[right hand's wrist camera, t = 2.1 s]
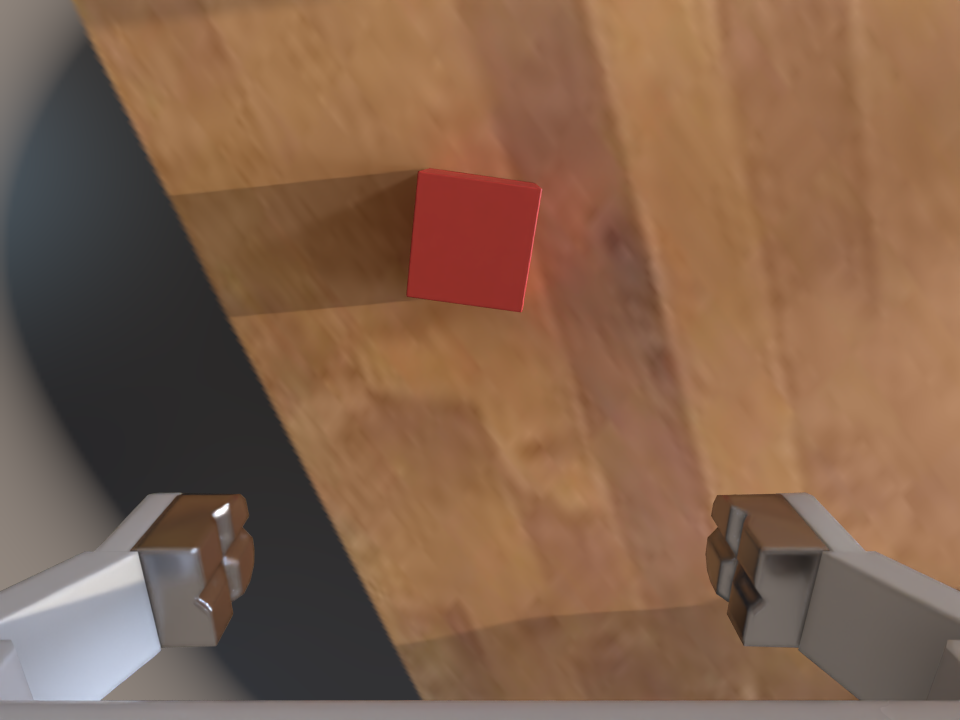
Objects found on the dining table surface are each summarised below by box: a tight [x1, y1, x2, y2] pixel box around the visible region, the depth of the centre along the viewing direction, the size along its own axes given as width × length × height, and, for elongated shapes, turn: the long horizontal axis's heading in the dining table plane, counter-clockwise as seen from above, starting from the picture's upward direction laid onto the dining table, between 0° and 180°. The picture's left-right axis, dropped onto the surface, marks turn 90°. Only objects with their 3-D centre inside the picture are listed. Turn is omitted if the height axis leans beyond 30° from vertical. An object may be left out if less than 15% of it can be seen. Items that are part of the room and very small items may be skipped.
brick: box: [406, 168, 542, 312], centre depth 26 cm, size 5×5×4 cm
